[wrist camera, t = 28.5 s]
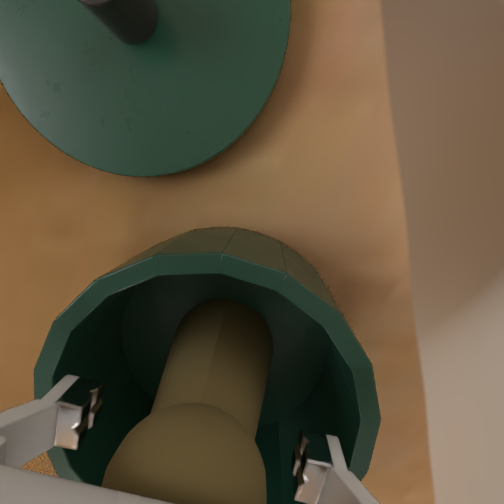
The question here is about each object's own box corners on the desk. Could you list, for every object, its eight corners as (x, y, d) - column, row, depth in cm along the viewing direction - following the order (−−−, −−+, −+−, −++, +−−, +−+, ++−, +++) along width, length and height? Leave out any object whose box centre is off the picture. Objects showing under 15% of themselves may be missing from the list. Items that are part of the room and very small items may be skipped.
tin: (150, 451, 22) (96, 574, 15) (82, 253, 19) (-21, 292, 12) (355, 418, 21) (400, 536, 14) (316, 201, 18) (347, 213, 11)
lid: (55, 203, 18) (-15, 209, 14) (-50, -104, 15) (-185, -226, 11) (313, 142, 17) (330, 128, 12) (253, -205, 14) (247, -393, 9)
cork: (249, 404, 20) (229, 659, 9) (160, 367, 20) (34, 587, 9) (290, 323, 19) (323, 512, 8) (196, 282, 18) (99, 421, 8)
